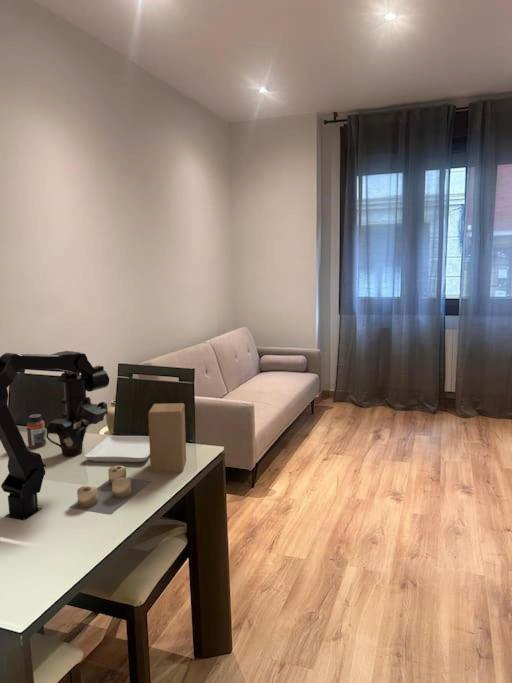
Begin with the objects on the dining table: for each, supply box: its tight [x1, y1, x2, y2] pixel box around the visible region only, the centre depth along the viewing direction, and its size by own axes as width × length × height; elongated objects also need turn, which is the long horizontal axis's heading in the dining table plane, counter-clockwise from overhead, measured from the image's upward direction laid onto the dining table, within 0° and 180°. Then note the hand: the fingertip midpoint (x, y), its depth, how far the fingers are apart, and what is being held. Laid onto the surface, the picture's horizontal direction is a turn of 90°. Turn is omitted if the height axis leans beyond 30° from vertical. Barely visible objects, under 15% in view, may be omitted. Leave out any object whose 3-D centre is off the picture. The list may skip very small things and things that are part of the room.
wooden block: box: [147, 402, 187, 474], centre depth 154 cm, size 10×10×20 cm
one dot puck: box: [76, 484, 98, 508], centre depth 130 cm, size 5×5×4 cm
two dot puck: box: [107, 465, 127, 485], centre depth 143 cm, size 5×5×4 cm
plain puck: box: [112, 477, 131, 499], centre depth 135 cm, size 5×5×4 cm
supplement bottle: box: [26, 413, 47, 449], centre depth 176 cm, size 6×6×11 cm
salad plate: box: [84, 435, 150, 463], centre depth 167 cm, size 21×21×3 cm
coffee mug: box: [45, 432, 83, 458], centre depth 168 cm, size 12×9×10 cm
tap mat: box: [68, 477, 153, 516], centre depth 136 cm, size 21×13×1 cm, turn 162°
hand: (78, 447), depth 140 cm, fingers closed
